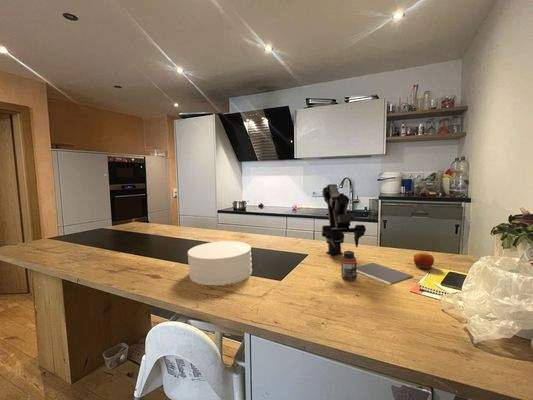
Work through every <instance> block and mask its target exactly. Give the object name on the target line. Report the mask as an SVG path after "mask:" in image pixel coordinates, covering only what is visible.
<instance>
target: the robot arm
mask: <svg viewBox="0 0 533 400" xmlns="http://www.w3.org/2000/svg"><path fill="white" fill-rule="evenodd" d="M322 197H323V200H324V202H325V203H326V204H327V213H328V221H329V225H328V224H327V225H322V228H321V237H323V238H324V239H325V242H326V243H327V244H328V246H327V249H328V251H325V253H326V254H328V255H330V256H333V257H335V256H339V255H344V252H342V245H341V244H344V240H345V233H346V234H348V233H350V234H351V233H353V235H354V237H353V238H354V245H355V247H356V248H357V249H358V248H359V246H358V245H359V240H360V238H361V239H362V237H364V236H365V233H366V230H367V229H366V225H364V224H355V226H354V227H351V222H354V221H355V220H356V217H355V213H349V214H347V211H348V208H349V204H350V197H349V196H347V195H345V194H344V192H341V193H340V191H339V188H338V185H337V184H335V183H332V184H326V186H324V187H323V189H322Z"/></svg>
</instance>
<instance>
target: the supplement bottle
mask: <svg viewBox="0 0 533 400" xmlns="http://www.w3.org/2000/svg"><path fill="white" fill-rule="evenodd" d="M357 262H358V261H357V258H356V257H355V251H353V250H352V251H351V250H344V251H343V256H342V257H341V278H342V279H343V280H344V281H348V282H352V281H356V280H357V274H358V273H357V267H358V266H357V265H358V264H357Z"/></svg>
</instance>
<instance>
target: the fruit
mask: <svg viewBox="0 0 533 400" xmlns="http://www.w3.org/2000/svg"><path fill="white" fill-rule="evenodd" d="M413 263H414V265H415V267H417V268H418V269H427V270H428V271H430V270H429V269H431V268H432V267H433V265H434V263H435V258H434V256H433V255H432V254H430V253H428V252H424V251H423V252H421V251H420V252H417V253H415V254H414V255H413Z"/></svg>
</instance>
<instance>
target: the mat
mask: <svg viewBox="0 0 533 400" xmlns="http://www.w3.org/2000/svg"><path fill="white" fill-rule="evenodd" d="M357 274H359V275H362V276H364V277H367V278H370V279H372V280H374V281H376V282H379V283H382V284H384V285H386V286H390V285H393V284H396V283H399V282H402V281H405V280H409V279H410V278H413V277H414V275H412V274H409V273H406V272H402V271H399V270H397V269H394V268H391V267H388V266H385V265H382V264H379V263H375V262H371V263H366V264H364V265H360V266H357Z"/></svg>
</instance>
